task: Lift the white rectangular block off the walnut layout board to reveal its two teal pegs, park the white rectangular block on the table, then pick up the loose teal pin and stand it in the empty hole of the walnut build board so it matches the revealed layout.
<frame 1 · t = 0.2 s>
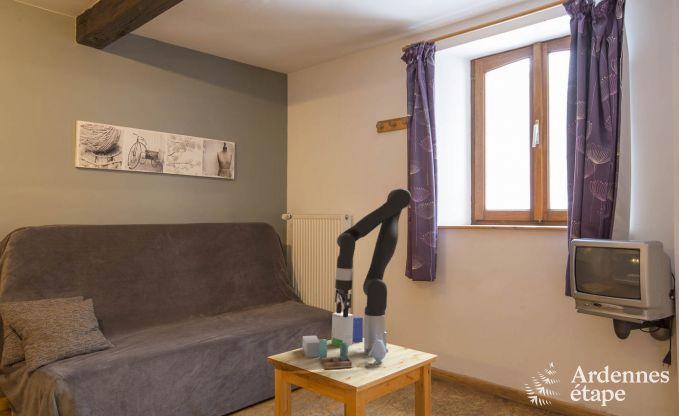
hand: (342, 315, 207), 17 cm above the table, tool pointing down, fingers open, 8 cm apart
toy figure: (378, 364, 195), on the table
walkman: (354, 341, 229), on the table
white rectangular block: (311, 353, 205), point 1 cm above the table, touching layout board
pin: (323, 361, 197), on the table
layout board: (311, 355, 205), on the table
skincare box: (342, 347, 219), on the table
build board: (336, 366, 191), on the table
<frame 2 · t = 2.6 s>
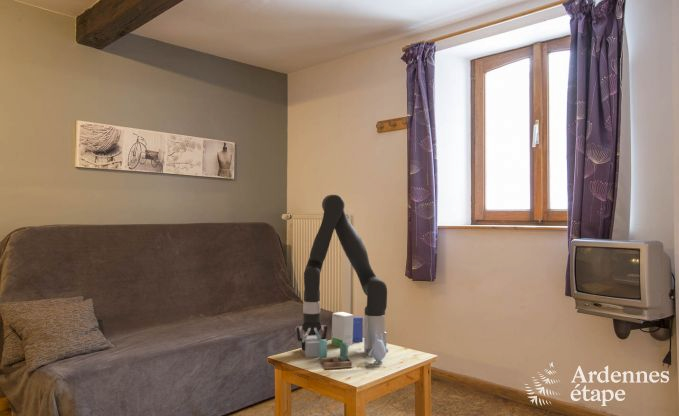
hand: (311, 349, 205), 3 cm above the table, tool pointing down, fingers closed on white rectangular block, 6 cm apart
white rectangular block: (311, 353, 205), point 1 cm above the table, touching gripper, layout board
everything else where it was.
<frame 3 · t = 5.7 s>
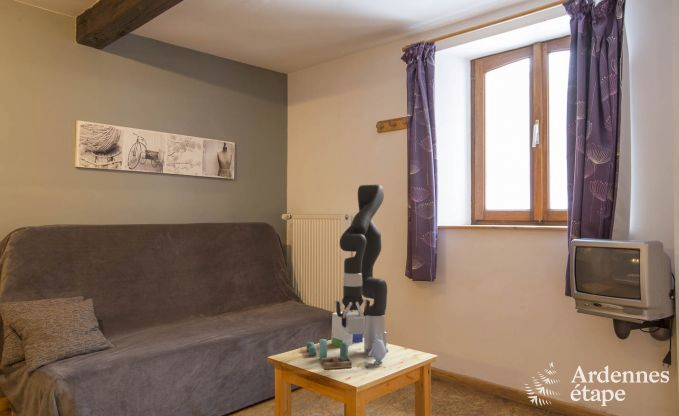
hand: (352, 326, 186), 17 cm above the table, tool pointing down, fingers closed on white rectangular block, 6 cm apart
white rectangular block: (352, 330, 186), point 16 cm above the table, touching gripper
everything else where it was.
when the fingers open (2 cm above the table, at t = 9.2 s): white rectangular block stays where it is, resting on build board.
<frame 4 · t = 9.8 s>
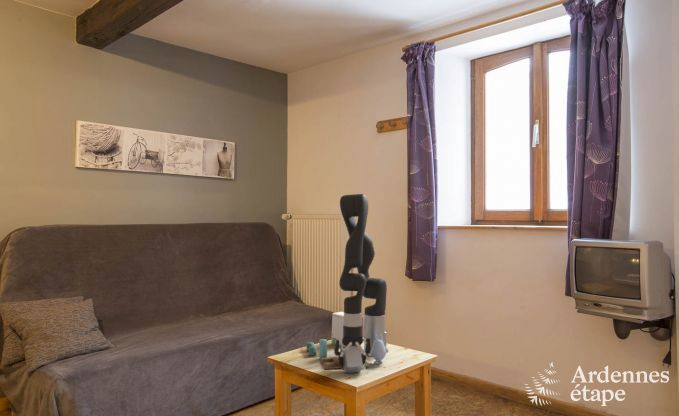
hand: (352, 364, 186), 2 cm above the table, tool pointing down, fingers open, 8 cm apart
white rectangular block: (350, 357, 188), point 5 cm above the table, tilted 52°, touching build board
everything else where it was.
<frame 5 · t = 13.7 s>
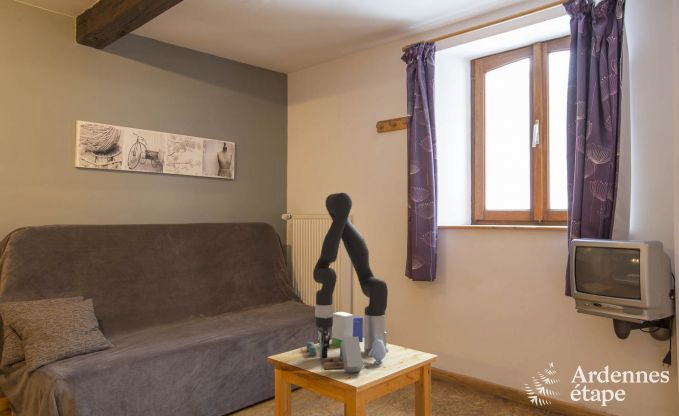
hand: (323, 356, 196), 3 cm above the table, tool pointing down, fingers open, 4 cm apart
pin: (323, 362, 196), on the table, touching gripper
everything else where it was.
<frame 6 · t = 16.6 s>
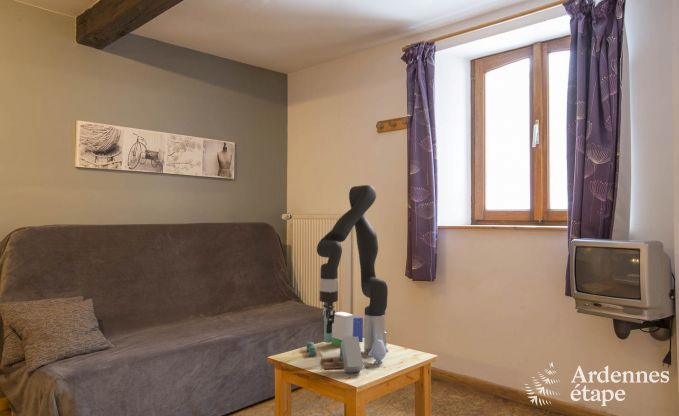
hand: (328, 331, 191), 14 cm above the table, tool pointing down, fingers closed on pin, 3 cm apart
pin: (328, 341, 191), point 10 cm above the table, touching gripper
everything else where it was.
when the fingers open (3 cm above the table, at t = 18.7 s): pin stays where it is, resting in build board.
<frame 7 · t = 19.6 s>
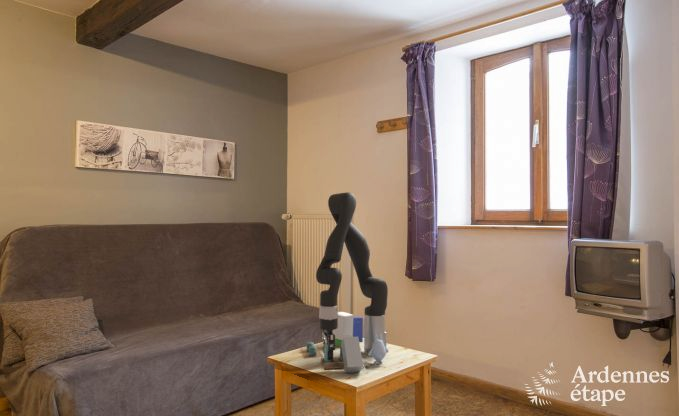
hand: (328, 356, 190), 4 cm above the table, tool pointing down, fingers open, 8 cm apart
pin: (328, 366, 190), resting in build board
everything else where it was.
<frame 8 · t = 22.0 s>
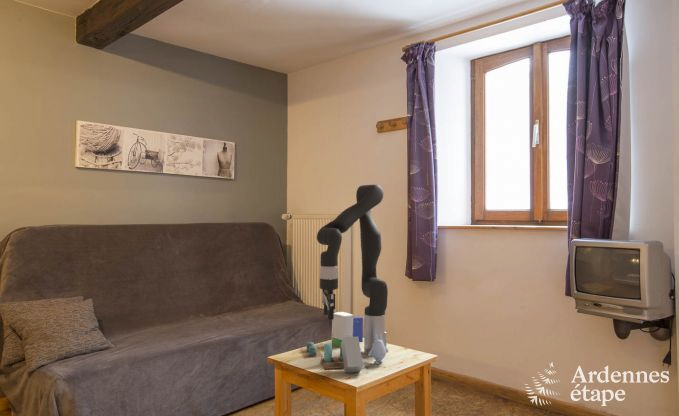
hand: (328, 317, 191), 20 cm above the table, tool pointing down, fingers open, 8 cm apart
nothing on the table moved.
at the end: pin 0.0 cm from the target spot on the build board, point 0.0 cm above the build board's base; pin tilted 0°; white rectangular block inside the target area (1.8 cm from its centre), point 4.7 cm above the table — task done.
